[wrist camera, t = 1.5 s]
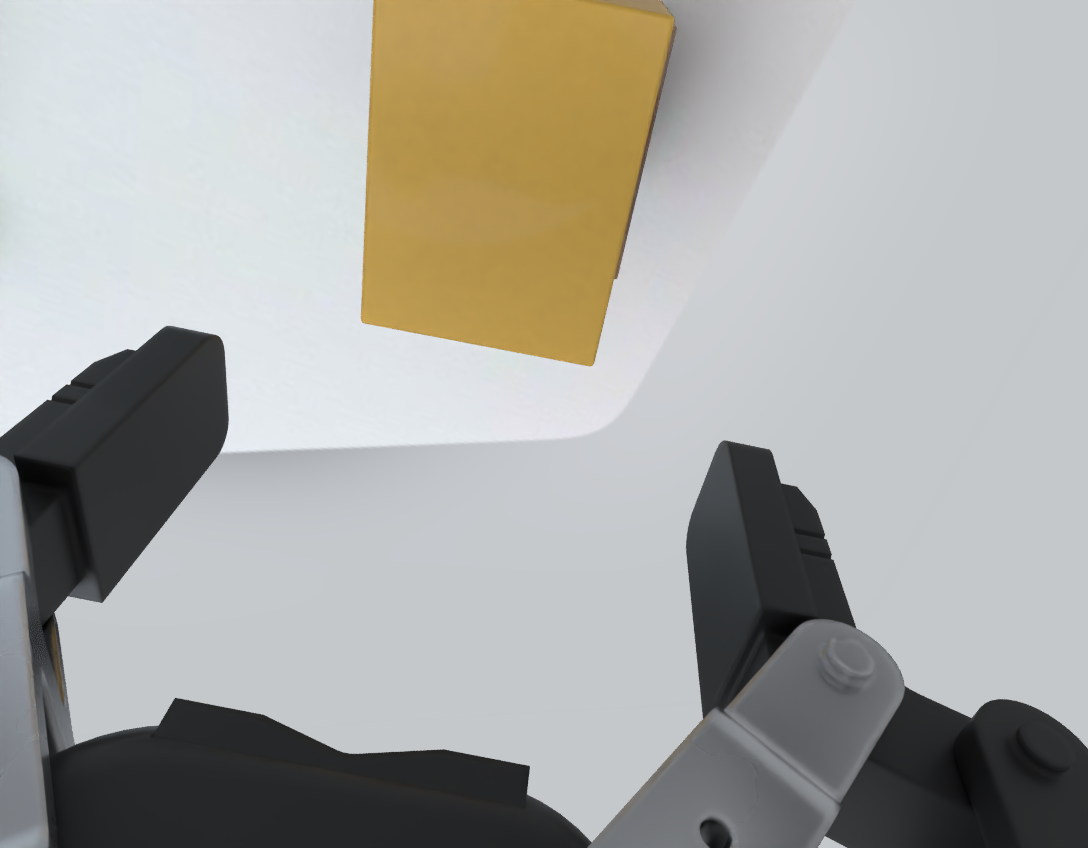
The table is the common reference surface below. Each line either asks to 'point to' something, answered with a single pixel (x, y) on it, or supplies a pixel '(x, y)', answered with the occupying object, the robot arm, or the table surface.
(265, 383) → the table surface
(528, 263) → the top block
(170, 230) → the table surface
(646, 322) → the table surface
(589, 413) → the table surface
